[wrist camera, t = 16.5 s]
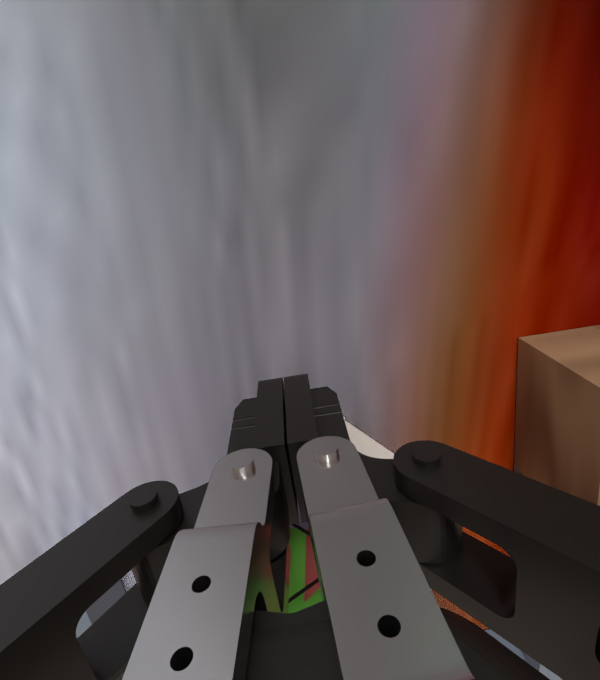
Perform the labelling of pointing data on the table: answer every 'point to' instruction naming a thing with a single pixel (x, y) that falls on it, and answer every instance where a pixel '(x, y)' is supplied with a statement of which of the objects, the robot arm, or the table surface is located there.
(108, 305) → the table surface
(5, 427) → the table surface
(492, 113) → the table surface
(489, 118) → the table surface
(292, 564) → the geometric puzzle
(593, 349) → the slotted tan block
